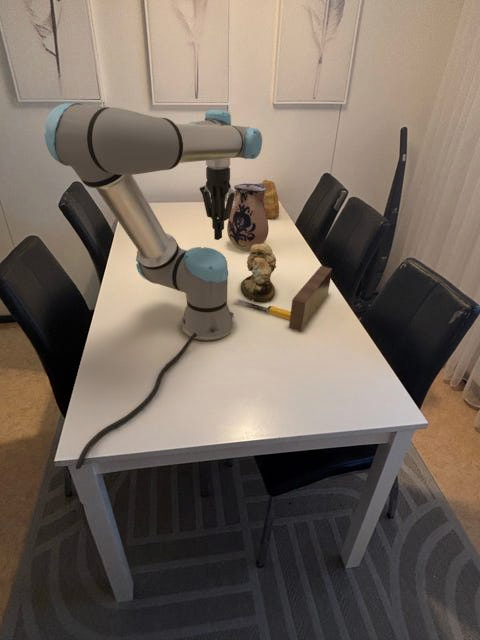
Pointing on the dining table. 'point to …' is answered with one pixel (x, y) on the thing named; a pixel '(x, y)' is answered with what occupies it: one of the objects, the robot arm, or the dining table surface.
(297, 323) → the walnut rail
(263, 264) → the beige stone figure
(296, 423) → the dining table surface
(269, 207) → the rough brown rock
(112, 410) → the dining table surface
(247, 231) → the ceramic pitcher
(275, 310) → the yellow handled chisel
